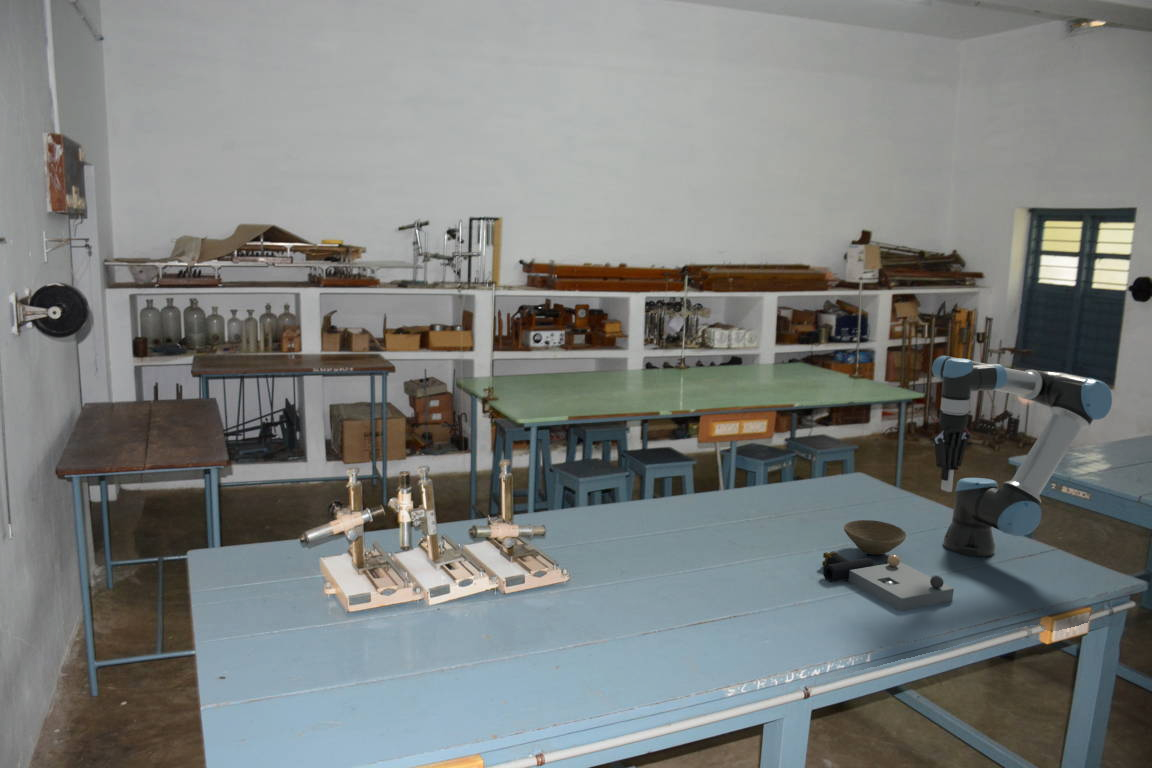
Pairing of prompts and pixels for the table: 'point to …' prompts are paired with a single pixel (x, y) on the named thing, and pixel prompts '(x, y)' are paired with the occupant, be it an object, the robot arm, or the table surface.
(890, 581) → the steel ball
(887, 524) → the bowl
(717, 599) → the table surface
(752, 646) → the table surface
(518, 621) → the table surface
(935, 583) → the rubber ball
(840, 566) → the pipe connector
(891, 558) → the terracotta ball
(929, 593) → the slate board
